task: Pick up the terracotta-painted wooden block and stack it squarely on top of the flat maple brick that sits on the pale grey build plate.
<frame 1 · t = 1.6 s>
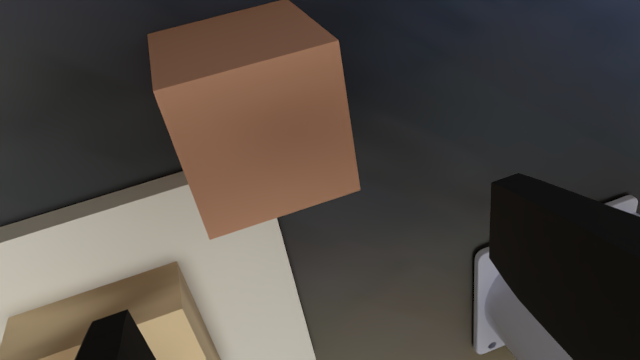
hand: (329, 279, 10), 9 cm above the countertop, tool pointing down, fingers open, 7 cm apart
top brick: (236, 81, 17), on the countertop
build plate: (126, 322, 21), on the countertop
bottom brick: (126, 341, 20), point 1 cm above the countertop, touching build plate
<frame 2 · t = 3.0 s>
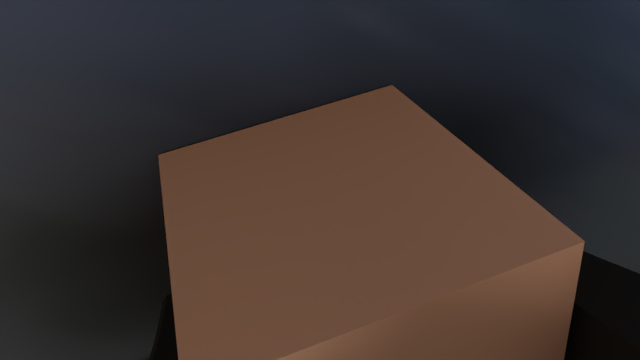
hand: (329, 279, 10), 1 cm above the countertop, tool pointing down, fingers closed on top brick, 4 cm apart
top brick: (302, 213, 10), on the countertop, touching gripper
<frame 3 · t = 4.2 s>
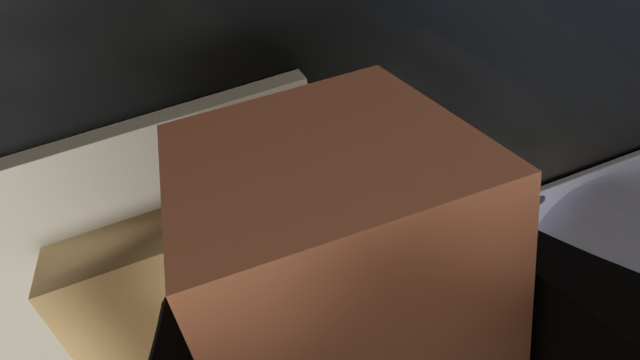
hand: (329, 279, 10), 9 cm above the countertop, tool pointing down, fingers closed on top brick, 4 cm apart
top brick: (294, 190, 11), point 7 cm above the countertop, touching gripper
build plate: (160, 262, 20), on the countertop
bottom brick: (161, 279, 19), point 1 cm above the countertop, touching build plate
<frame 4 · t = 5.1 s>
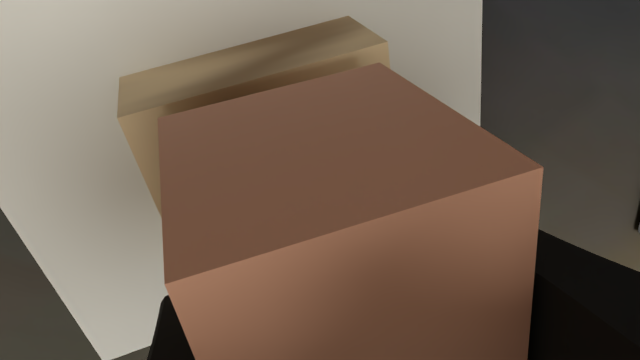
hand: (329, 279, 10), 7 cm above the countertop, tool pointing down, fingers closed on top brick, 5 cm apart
top brick: (293, 186, 11), point 5 cm above the countertop, touching gripper
build plate: (257, 131, 15), on the countertop
bottom brick: (265, 145, 14), point 1 cm above the countertop, touching build plate
when the fingers open (6 cm above the countertop, at t = 5.7 s): top brick stays where it is, resting on bottom brick.
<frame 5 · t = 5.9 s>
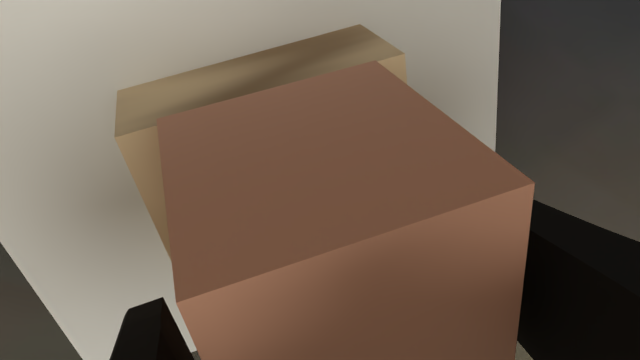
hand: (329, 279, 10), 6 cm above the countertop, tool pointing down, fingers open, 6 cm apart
top brick: (290, 181, 11), point 3 cm above the countertop, touching bottom brick
build plate: (263, 144, 14), on the countertop
bottom brick: (271, 160, 14), point 1 cm above the countertop, touching build plate, top brick
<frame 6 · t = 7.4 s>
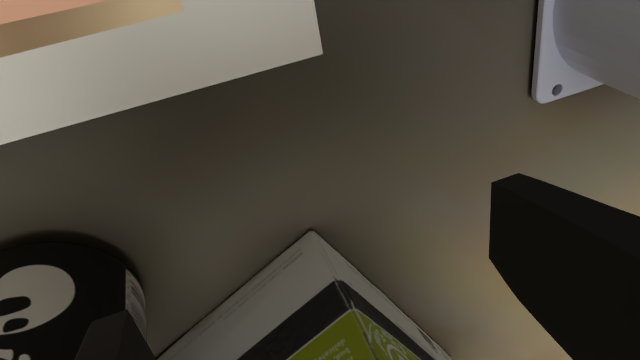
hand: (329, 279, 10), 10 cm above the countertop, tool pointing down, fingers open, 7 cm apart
tea box: (320, 352, 27), on the countertop
beverage can: (56, 294, 20), on the countertop
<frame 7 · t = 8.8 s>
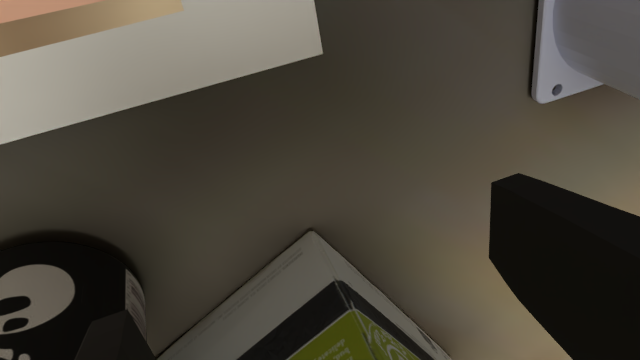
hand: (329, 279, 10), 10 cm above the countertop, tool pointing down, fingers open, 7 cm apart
tea box: (320, 351, 27), on the countertop
beverage can: (56, 294, 20), on the countertop
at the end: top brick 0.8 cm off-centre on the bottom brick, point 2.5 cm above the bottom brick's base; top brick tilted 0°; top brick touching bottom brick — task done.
